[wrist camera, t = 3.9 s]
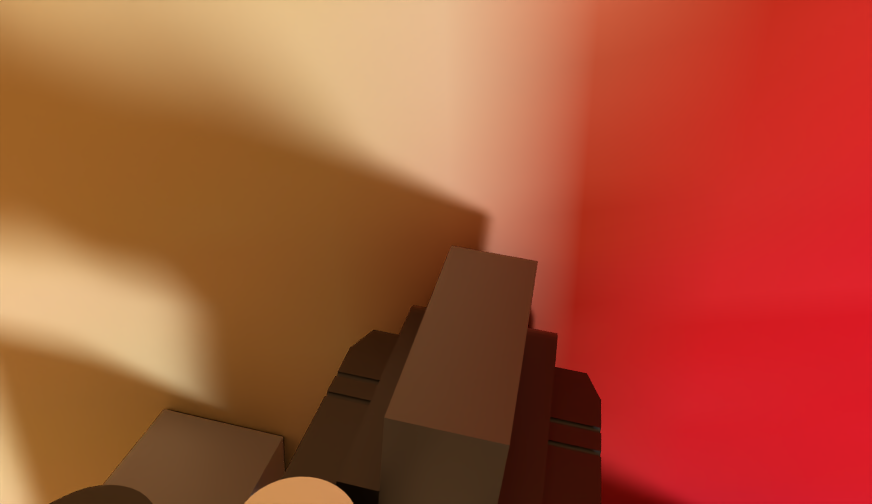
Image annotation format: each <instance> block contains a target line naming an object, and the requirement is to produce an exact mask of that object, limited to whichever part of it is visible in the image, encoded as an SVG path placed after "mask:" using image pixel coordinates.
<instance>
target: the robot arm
mask: <svg viewBox="0 0 872 504" xmlns="http://www.w3.org/2000/svg"><path fill="white" fill-rule="evenodd" d="M426 309H427V308H425V307H420V306H415V305H413V306H412V307H411V309H410V311H409V314H408V316H407V318H406V321H405V323H404V325H403V327H402V330H401V332H400V334H399V335H396V334H391V333H386V332H381V331H377V330H373V331H372V332H370V333H369V334H368V335H366V336H365V337H364V338H362V339H361V340H360V341H358V342H357V343H356V344H354V345H353V346H352V347H350V349H349V351H348V353H347V355H346V357H345V359H344V361H343V363H342V365H341V366H340V368H339V370H338V374H337V376H335V378H334V380H333V382H332V384H331V386H330V388H329V389H328V392H327V396H325V397H324V399H323V401H322V403H321V405H320V407H319V409H318V410H317V412H316V414H315V416H314V418H313V420H312V422H311V424H310V426H309V428H308V430H307V432H306V433H305V435H304V437H303V439H302V441H301V443H300V445H299V447H298V449H297V451H296V453H295V455H294V456H293V458H292V460H291V462H290V464H289V466H288V468H287V470H286V472H285V473H284V475H283V477H282V478H281V480H278V481H276V482H273V483H271V484H268V485H267V486H265V487H263V488H261V489H260V490H258V491H257V492H256V493H254V494H253V495H252V496H251V497H250V498H249V499H248V500H247V501H246V502H245V503H244V504H378V503H379V488H380V473H381V458H382V443H383V427H384V417H385V414H386V412H387V409H388V406H389V404H390V401H391V399H392V396H393V394H394V391H395V388H396V386H397V383H398V381H399V378H400V376H401V373H402V371H403V368H404V365H405V363H406V360H407V358H408V355H409V353H410V350H411V347H412V345H413V342H414V340H415V337H416V335H417V332H418V330H419V327H420V324H421V322H422V319H423V317H424V314H425V312H426ZM557 336H558V335H557V333H552V332H547V331H542V330H537V329H532V328H527V335H526V341H525V348H524V354H523V361H522V367H521V374H520V381H519V387H518V394H517V400H516V407H515V413H514V420H513V426H512V433H511V439H510V446H509V451H508V455H507V460H506V465H505V470H504V475H503V480H502V485H501V490H500V495H499V499H498V504H601V457H600V454H601V433H600V430H601V399H600V397H599V396H598V394H597V392H596V390H595V388H594V386H593V384H592V382H591V380H590V379H589V377H588V375H587V373H582V372H577V371H572V370H567V369H562V368H558V367H555V360H556V349H557ZM50 504H153V503H152V502H151V501H150V500H149V499H148V498H147V497H146V496H145V495H144V494H142V493H141V492H139V491H137V490H135V489H133V488H129V487H125V486H120V485H100V486H94V487H89V488H85V489H82V490H79V491H76V492H73V493H71V494H69V495H66V496H64V497H62V498H60V499H58V500H56V501H54V502H52V503H50Z"/></svg>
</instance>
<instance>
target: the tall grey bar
mask: <svg viewBox="0 0 872 504" xmlns="http://www.w3.org/2000/svg"><path fill="white" fill-rule="evenodd" d="M537 263H538V261H533V260H528V259H522V258H517V257H511V256H506V255H500V254H495V253H489V252H484V251H478V250H473V249H467V248H462V247H457V246H451V248H450V250H449V253H448V255H447V258H446V260H445V263H444V265H443V268H442V271H441V273H440V276H439V278H438V281H437V283H436V286H435V289H434V291H433V294H432V296H431V299H430V301H429V304H428V306H427V309H426V312H425V314H424V317H423V319H422V322H421V324H420V327H419V330H418V332H417V335H416V337H415V340H414V342H413V345H412V347H411V350H410V353H409V355H408V358H407V360H406V363H405V365H404V368H403V371H402V373H401V376H400V378H399V381H398V383H397V386H396V388H395V391H394V394H393V396H392V399H391V401H390V404H389V406H388V409H387V412H386V414H385V417H384V427H383V443H382V458H381V473H380V488H379V503H378V504H498V499H499V495H500V490H501V485H502V480H503V475H504V470H505V465H506V460H507V455H508V451H509V446H510V439H511V433H512V426H513V420H514V413H515V407H516V400H517V394H518V387H519V381H520V374H521V367H522V361H523V354H524V348H525V341H526V335H527V328H528V322H529V315H530V309H531V302H532V296H533V289H534V283H535V276H536V270H537Z"/></svg>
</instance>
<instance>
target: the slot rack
mask: <svg viewBox="0 0 872 504" xmlns="http://www.w3.org/2000/svg"><path fill="white" fill-rule="evenodd" d="M284 473H285V469H284V446H283V437H282V436H278V435H274V434H269V433H265V432H261V431H256V430H252V429H248V428H243V427H239V426H235V425H230V424H226V423H222V422H218V421H213V420H209V419H205V418H200V417H196V416H192V415H187V414H183V413H179V412H174V411H170V410H166V409H164V410H163V411H162V412H161V414H160V415H159V416H158V417H157V418H156V420H155V421H154V422H153V423H152V425H151V426H150V427H149V428H148V430H147V431H146V432H145V433H144V435H143V436H142V437H141V438H140V439H139V441H138V442H137V443H136V444H135V446H134V447H133V448H132V449H131V451H130V452H129V453H128V454H127V456H126V457H125V458H124V459H123V460H122V462H121V463H120V464H119V465H118V467H117V468H116V469H115V470H114V472H113V473H112V474H111V475H110V476H109V478H108V479H107V480H106V481H105V483H104V484H103V485H120V486H125V487H129V488H133V489H135V490H137V491H139V492H141V493H142V494H144V495H145V496H146V497H147V498H148V499H149V500H150V501H151V502H152V503H153V504H244V503H245V502H246V501H247V500H248V499H249V498H250V497H251V496H252V495H253V494H254V493H256V492H257V491H258V490H260V489H261V488H263V487H265V486H267V485H268V484H271V483H273V482H276V481H278V480H281V478H282V477H283V475H284Z"/></svg>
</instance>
